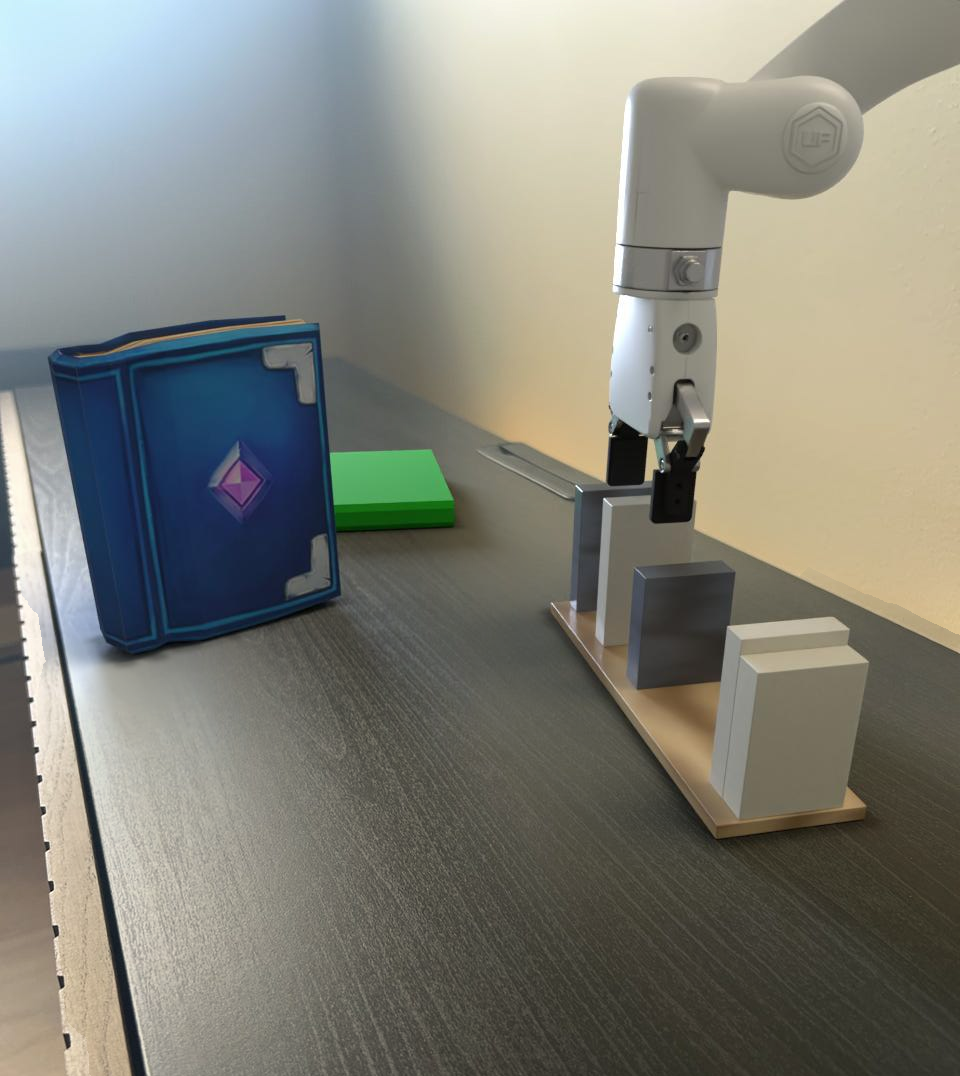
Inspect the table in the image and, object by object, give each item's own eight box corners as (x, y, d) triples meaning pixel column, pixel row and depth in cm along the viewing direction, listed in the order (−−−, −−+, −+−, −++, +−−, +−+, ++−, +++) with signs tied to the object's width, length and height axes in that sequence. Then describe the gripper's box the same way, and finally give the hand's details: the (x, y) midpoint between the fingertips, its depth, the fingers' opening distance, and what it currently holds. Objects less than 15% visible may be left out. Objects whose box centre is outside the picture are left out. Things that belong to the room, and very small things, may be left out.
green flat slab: (208, 480, 133) (206, 456, 131) (431, 472, 137) (431, 449, 135) (192, 539, 112) (189, 512, 111) (454, 527, 116) (454, 501, 115)
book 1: (116, 669, 84) (67, 348, 74) (83, 640, 89) (32, 335, 79) (346, 603, 97) (332, 320, 86) (306, 581, 102) (287, 311, 91)
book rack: (655, 603, 97) (665, 476, 92) (864, 819, 66) (898, 645, 61) (550, 612, 95) (555, 483, 90) (715, 839, 64) (737, 661, 59)
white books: (808, 770, 69) (833, 616, 65) (843, 807, 65) (872, 646, 61) (708, 782, 68) (726, 625, 63) (739, 820, 64) (760, 656, 59)
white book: (673, 629, 90) (686, 492, 85) (683, 640, 88) (697, 500, 83) (594, 636, 88) (602, 497, 83) (603, 647, 86) (612, 506, 81)
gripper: (770, 286, 69) (738, 535, 76) (669, 261, 84) (651, 470, 91) (662, 287, 67) (640, 541, 75) (579, 261, 83) (567, 474, 90)
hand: (646, 502), depth 83 cm, fingers open, 9 cm apart
